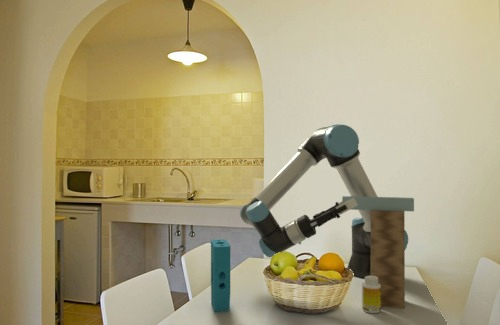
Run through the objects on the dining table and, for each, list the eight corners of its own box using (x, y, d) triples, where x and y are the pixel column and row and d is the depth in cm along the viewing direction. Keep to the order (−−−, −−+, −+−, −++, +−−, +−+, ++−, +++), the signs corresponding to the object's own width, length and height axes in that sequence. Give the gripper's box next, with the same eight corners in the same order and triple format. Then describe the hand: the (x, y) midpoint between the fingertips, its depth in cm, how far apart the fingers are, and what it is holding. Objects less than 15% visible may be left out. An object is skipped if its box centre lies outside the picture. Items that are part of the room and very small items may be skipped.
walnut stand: (371, 305, 127) (370, 210, 127) (370, 297, 135) (370, 208, 135) (404, 308, 124) (404, 211, 125) (402, 299, 132) (402, 209, 132)
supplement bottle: (383, 314, 120) (383, 279, 120) (364, 314, 120) (364, 279, 120) (377, 307, 125) (377, 274, 125) (360, 307, 125) (359, 274, 125)
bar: (342, 209, 132) (342, 197, 132) (343, 208, 136) (343, 196, 136) (414, 211, 126) (413, 198, 126) (412, 210, 130) (412, 197, 130)
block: (230, 312, 120) (230, 246, 121) (214, 314, 120) (214, 247, 120) (225, 299, 132) (225, 239, 132) (210, 300, 131) (210, 239, 131)
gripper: (311, 232, 149) (362, 205, 144) (301, 245, 125) (361, 213, 120) (301, 215, 150) (351, 187, 145) (289, 224, 126) (348, 192, 121)
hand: (356, 199), depth 132 cm, fingers open, 13 cm apart
